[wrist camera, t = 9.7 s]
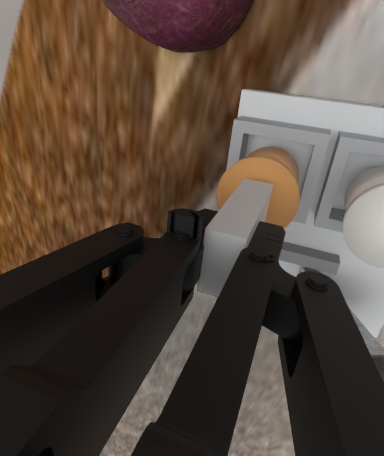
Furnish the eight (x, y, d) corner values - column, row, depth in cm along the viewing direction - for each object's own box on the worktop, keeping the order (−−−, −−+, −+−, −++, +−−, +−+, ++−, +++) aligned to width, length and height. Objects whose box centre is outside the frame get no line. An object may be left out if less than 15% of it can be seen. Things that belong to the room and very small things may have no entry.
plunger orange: (231, 199, 24) (211, 225, 20) (241, 136, 22) (222, 150, 18) (294, 213, 23) (288, 245, 19) (312, 148, 21) (309, 167, 17)
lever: (285, 296, 28) (358, 415, 19) (293, 267, 27) (376, 379, 18) (313, 296, 29) (398, 412, 19) (323, 267, 27) (418, 377, 18)
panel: (216, 277, 34) (202, 302, 30) (247, 88, 26) (233, 90, 22) (373, 323, 30) (380, 359, 26) (467, 117, 22) (497, 126, 18)
